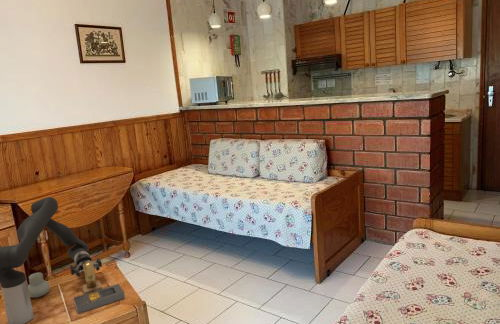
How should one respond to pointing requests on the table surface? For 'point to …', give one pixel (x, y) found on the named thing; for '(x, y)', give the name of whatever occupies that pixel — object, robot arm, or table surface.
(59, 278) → the table surface
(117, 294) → the rack plate
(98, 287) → the pad
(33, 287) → the air freshener
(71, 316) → the table surface
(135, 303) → the table surface
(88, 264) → the peg
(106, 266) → the table surface
